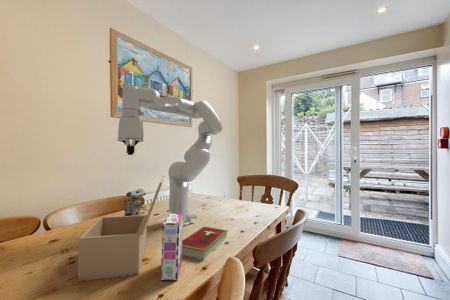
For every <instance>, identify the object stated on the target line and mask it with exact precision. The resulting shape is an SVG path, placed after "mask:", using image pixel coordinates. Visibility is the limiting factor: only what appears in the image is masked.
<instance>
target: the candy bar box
mask: <svg viewBox="0 0 450 300" xmlns="http://www.w3.org/2000/svg"><path fill="white" fill-rule="evenodd" d="M183 229H184V226H183V214H180V213H174V214H169V213H168V215H167V217H166V219H165V220H164V221H163V223H162V238H161V239H162V242H161V243H162V244H161V245H162V246H161V268H160V269H161V271H160V272H161V274H160V281H161V280H177V281H178V279H179V274H180V269H181V265H182V261H183V255H182V240H183V235H184V234H183V233H184V232H183V231H184V230H183Z"/></svg>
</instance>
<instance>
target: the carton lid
mask: <svg viewBox="0 0 450 300" xmlns="http://www.w3.org/2000/svg"><path fill="white" fill-rule="evenodd" d="M164 180H165V175H161V178H160V180H159V183H158V186H157V188H156V191H155V194H154V196H153V199H152V201H151V203H150V207H149V209H148V212H147V214H146V215H147V217H146V220H145V222H144V225H143V227H142V230H141V233H140V235H143V232H144V230H145V227H146V225H148V222H149V220H150V217H151V214H152V212H153V209H154V207H155V204H156V201H157V198H158V195H159V193H160V190H161V188H162V186H163V183H164Z"/></svg>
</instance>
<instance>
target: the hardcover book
mask: <svg viewBox="0 0 450 300" xmlns="http://www.w3.org/2000/svg"><path fill="white" fill-rule="evenodd" d="M228 232H229V230H228V229H222V228H216V227H211V226H203V227H200V229H198V230H197V231H194V232H193V233H192V234H190V235H189V236H187V237H186V238H184V239H182V256H184V255H186V256H185V257H188V256H190V257H189V258H192V257H195V258H194V259H197V258H199V259H198V260H201V259H205V258H206V257H207V256H208V255H209V254H210V253H211V252H212V253H213V252H214V251H215V250H216V249H218V248H219V247H220V246H221V245H222V244H223V243H224V242H225V241H226V240H227V239H228V238H227V234H228ZM226 238H227V239H226ZM225 239H226V240H225ZM224 240H225V241H224ZM223 241H224V242H223ZM222 242H223V243H222ZM221 243H222V244H221ZM220 244H221V245H220ZM213 250H214V251H213ZM212 253H211V254H212ZM211 254H210V255H211ZM210 255H209V256H210ZM209 256H208V257H209ZM208 257H207V258H208ZM207 258H206V259H207ZM206 259H205V260H206Z"/></svg>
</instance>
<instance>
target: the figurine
mask: <svg viewBox="0 0 450 300" xmlns="http://www.w3.org/2000/svg"><path fill="white" fill-rule="evenodd" d="M146 194H147V193H146V191H145V189H143V188H138V189H134V190H131V191H128V192H127V193H125V196H126V197H128V198H126V199H125V200H124V201H123V207H125V208H124V215H123V216H137V215H141V209H143V210H146V209H147V206H143V201H141V200H140V197H144V196H146ZM129 198H131V199H129Z"/></svg>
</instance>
